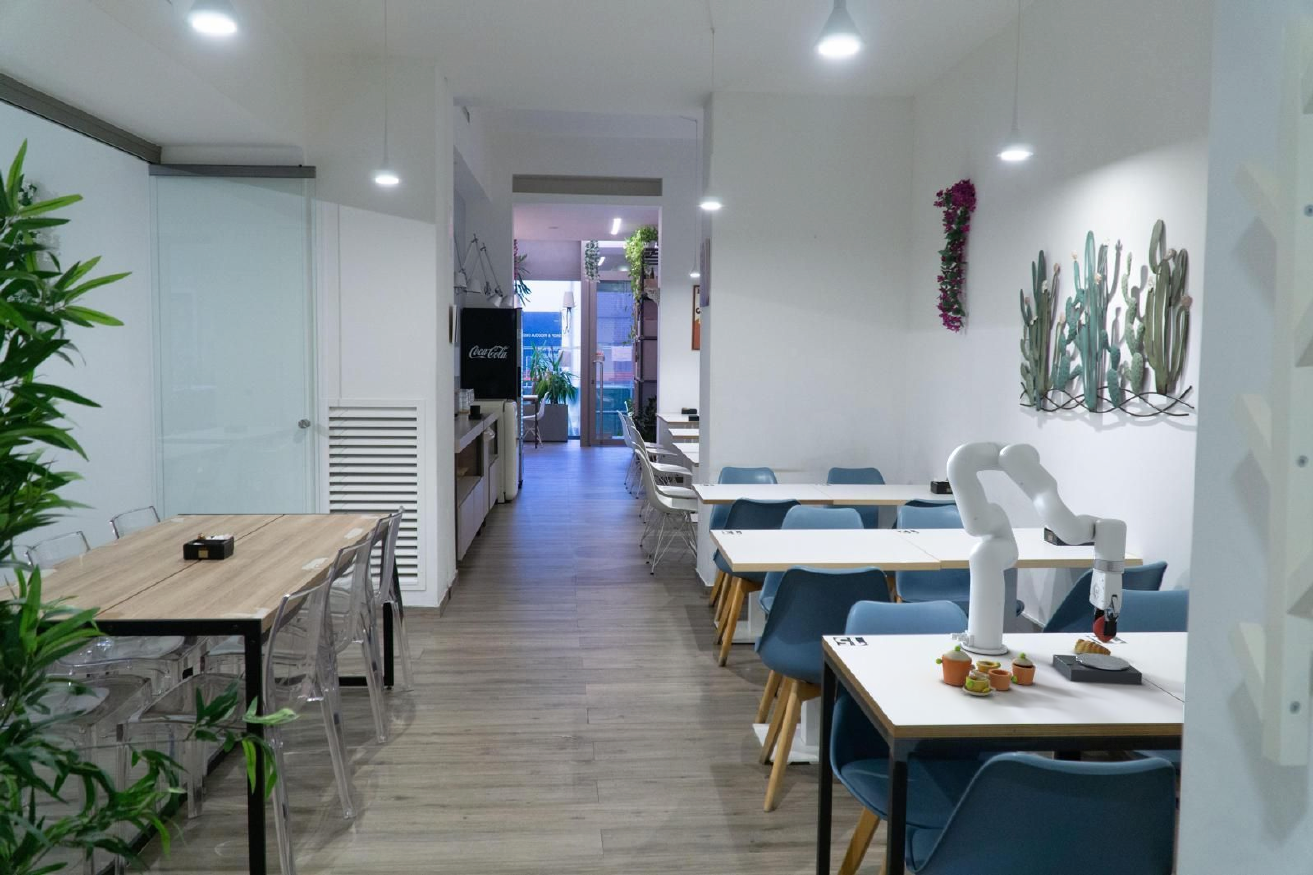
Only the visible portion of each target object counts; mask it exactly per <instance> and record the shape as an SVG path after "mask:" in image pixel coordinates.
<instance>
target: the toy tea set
mask: <svg viewBox="0 0 1313 875" xmlns="http://www.w3.org/2000/svg"><path fill="white" fill-rule="evenodd" d="M961 648H962V647H961V645H955V646H954V649H951V650H948V651H947V652H945V653H943V654H942V655H941V658H940V657H939V658H936V659H935V663H936V664H937V665H941V664H942V665H941V666H942V676H943V682H944V683H945V684H948V685H950V686H957V687H962V690H963V691H964V692H965V693H967V694H969V695H971V696H988V695H990V694H991V692H997V691H1008V690H1009V688H1010V685H1011V682H1012V683H1015V684H1018V685H1022V686H1023V685H1024V686H1029V685H1032V684H1033V682H1034V678H1035V673H1036V668H1037V667H1036V665H1034V663H1033V661H1032V660H1030V659H1029V658H1027V654H1026V653H1024V652H1021V653H1020V654H1019V657H1015V658H1013V659H1012V663H1011V670H1012V672H1011V671H1009V670H1005V669H1002V668H1001V667H1002V664H1001V662H999V661H997V662H996V661H991V660H977V661H976V664H973V658H972V657H971V656H969V654H967V652H965V651H963V650H961ZM975 665H976V666H975ZM976 667H977V669H976ZM1000 668H1001V669H1000ZM970 673H971V674H973V675H970Z"/></svg>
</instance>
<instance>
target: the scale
mask: <svg viewBox="0 0 1313 875" xmlns="http://www.w3.org/2000/svg"><path fill="white" fill-rule="evenodd" d="M1076 656H1077V655H1073V654H1053V655H1052V666H1053V667H1054V668H1055V669H1056V670H1057V671H1059V672H1060V673H1061V674H1062V675H1063V676H1064V677H1066V679H1068V680H1069V681H1070V682H1082V683H1083V682H1087V683H1106V684H1124V685H1125V684H1126V685H1142V682H1143V681H1142V680H1143V673H1142V671H1140V670H1138V669H1137V668H1135V667H1134V666H1133V665H1131V664H1130V663H1129V668H1127V669H1123V670H1108V669H1100V668H1095V667H1090V666H1087V665H1084V664H1081V663H1079V662H1078V661H1077V660H1076Z"/></svg>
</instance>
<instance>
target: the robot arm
mask: <svg viewBox="0 0 1313 875" xmlns="http://www.w3.org/2000/svg"><path fill="white" fill-rule="evenodd" d="M1040 461H1041V457H1040V454H1039V451H1038V450H1037V449H1036V447H1035V446H1033V445H1031V444H1029V443H1024V442H1021V443H1020V442H1001V441H989V440H988V441H986V440H985V441H971V442H966V443H963V444H961V445H959V446H957V448H956V449H954V451H953V452H952V453H951V454H950V456H949V457H948V460H947V464H946V475H947V480H948V483H949V486H950V489H951V492H952V495H953V497H954V501H955V504H956V508H957V510H958V514H959V517H960V521H961V524H962V527H963V528H964V531H965V532H966V534H968V535H969V536H972V537H976V538H977V537H979V538H980V537H981V540H982V541H980V542H978V543H977V544H975V545H974V546H973V547H972V549H971V550H970V553H969V557H968V564H969V573H970V586H969V588H970V589H969V606H968V608H969V610H968V625H967V629H964V632H961V633H957V632H950V640H951V641H957V642H961V648H963V649H964V650H966V651H968V652H972V653H976V654H981V655H993V656H994V655H996V656H997V655H1004V654H1006V653H1007V652H1008V646H1007V645H1006V644H1004V643H1003V634H1004V621H1005V620H1004V619H1005V618H1004V617H1005V601H1006V581H1005V575H1004V573H1005V572H1004V571H1007V570H1009V569H1011V568H1013V567H1014V566H1015V565H1016V564H1017V562H1018V560H1019V555H1020V554H1019V552H1020V551H1019V548H1018V544H1017V541H1016V537H1015V534H1014V532H1013V529H1012V525H1011V522H1010V519H1009V517H1008V515H1007V513H1006V511H1005V509H1003V506H1001V505H1000V504H998V503H996V502H993V501H988V499H987V498H988V497H987V496H986V492H985V489H984V487H983V484H982V483H981V480H980V479H979V478H978V476H977V473H978V472H984V471H997V472H1004V473H1005V474H1006V476H1008V477H1009V479H1011V480H1012V482H1014V483H1015V485H1017V487H1018V488H1019V489H1020V490H1021V491H1022V492H1023V493H1024V494H1025V495H1026V497H1028V498H1029V499H1030V500H1031V502H1032V504H1033V506H1034V507H1033V508H1034V509H1035V510H1036V512H1037V514H1038V516H1039V517H1040V519H1041V520H1042V521H1043V523H1044V524H1045V525H1046V527H1048V528H1049V530H1051V532H1053V534H1054V535H1055V536H1056V537H1057V538H1058V539H1059V540H1060V541H1062V542H1063V543H1065V544H1067V545H1068V546H1069V545H1070V546H1078V545H1082V544H1086V543H1093V544H1094V545H1093V560H1092V561H1093V562H1092V570H1093V572H1092V575H1091V582H1090V591H1089V592H1090V593H1089V603H1090V604H1091V605H1092V606H1093V607H1094V608H1093V625H1094V623H1095V621H1096V620H1097V619H1099V618H1100V617H1102V616H1104V614H1105V620H1106V621H1104V626H1103V635H1104V636H1115V637H1116V636H1117V633H1116V630H1117V631H1118V628H1117V627H1118V621H1119V616H1120V614H1121V609H1122V602H1123V600H1122V599H1123V576H1122V574H1124V573H1125V561H1126V560H1125V559H1126V545H1127V531H1128V530H1127V527H1128V526H1127V523H1126V522H1125V521H1124V520H1121V519H1116V518H1102V517H1098V516H1095V515H1090V514H1077V515H1075V514H1074V513H1073V511H1071V509H1069V507H1068V506H1067V505H1066V504H1065V503H1064V502H1063V500H1062V498H1061V497H1060V494H1059V491H1058V490H1059V489H1058V482H1057V480H1056V478H1055V477H1054V476H1053V475H1052V474H1051V473H1050V472H1049V471H1048V470H1047V469H1046V468H1045V467H1044V466H1043V465H1042V464H1041V462H1040ZM1093 625H1092V626H1093Z"/></svg>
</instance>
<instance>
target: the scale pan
mask: <svg viewBox="0 0 1313 875" xmlns="http://www.w3.org/2000/svg"><path fill="white" fill-rule="evenodd" d="M1075 656H1076V660H1077V661H1078V662H1079V663H1081V664H1084V665H1087V666H1090V667H1095V668H1100V669H1108V670H1123V669H1127V668H1129V664H1130V663H1129V662H1128V661H1127V660H1126V659H1123V658H1121V657H1117V656H1113V655H1110V656H1109V655H1103V654H1093V653H1086V654H1082V653H1080V654H1079V653H1078V655H1075Z"/></svg>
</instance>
